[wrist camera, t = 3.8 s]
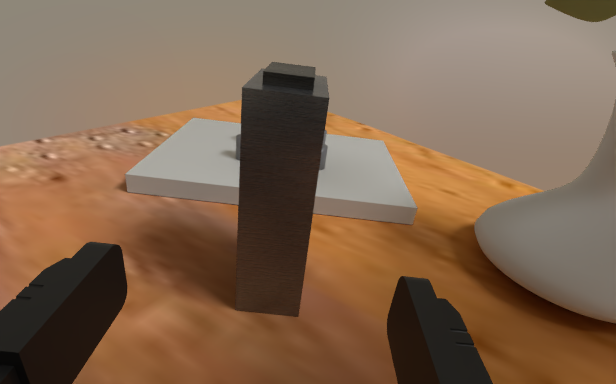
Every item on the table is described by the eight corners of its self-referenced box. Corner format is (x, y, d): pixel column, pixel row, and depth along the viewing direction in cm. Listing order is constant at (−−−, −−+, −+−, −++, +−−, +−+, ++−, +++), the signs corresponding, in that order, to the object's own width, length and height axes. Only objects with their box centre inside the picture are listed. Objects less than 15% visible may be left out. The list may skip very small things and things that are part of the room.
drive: (302, 256, 22) (327, 66, 17) (298, 316, 18) (331, 84, 13) (251, 250, 22) (262, 58, 17) (235, 309, 18) (242, 73, 13)
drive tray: (380, 152, 42) (386, 124, 40) (412, 224, 28) (424, 184, 26) (193, 130, 41) (192, 100, 40) (127, 192, 27) (121, 148, 25)
